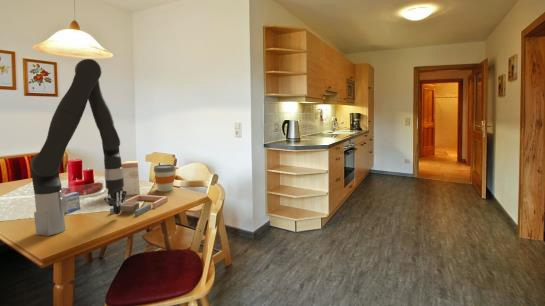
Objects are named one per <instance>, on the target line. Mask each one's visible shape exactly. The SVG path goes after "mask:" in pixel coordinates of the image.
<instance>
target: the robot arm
mask: <svg viewBox="0 0 545 306" xmlns="http://www.w3.org/2000/svg"><path fill="white" fill-rule="evenodd" d="M102 73H103V72H102V67H101V65H100V64H99V62H98V61H96V60H94V59H92V58H85V59H82V60H80V61H79V62H77V64H76V65H75V67H74V77H73V79H72V82H71V84H70V87H69V88H68V90H67V92H66V93H65V94H64V95H63V97H62V98H61V100H60V101H59V103H58V105H57V107H56V109H55V111H54V113H53V115H52V118H51V121H50V124H49V128H48V132H47V136H46V139H45V142H44V144H43V146H42V147H41V150H39V152H38V153H36V154H34V155H33V157H32V158H31V160H30V172H31V181H32V187H33V195H34V201H35V212H34V213H33V218H34V224H35V233H36V235H37V236H47V237H49V236H52V235H56V234H59V233H62V232H64V231H65V230H66V219H65V213H64V208H63V198H62V195H63V190H62V188H63V187H62V183H61V177H60V171H59V170H60V167H61V165H62V162H63V158H64V156H65V152H66V149H67V146H68V145H69V143H70V142H71V140H72V138H73V136H74V134H75V132H76V130H77V128H78V127H79V124H80V122H81V119H82V118H83V114H84V112H85V110H86V106H87V103H88V102H89V103H88V104H89V106H90V110H91V113H92V117H93V119H94V122H95V123H94V124H95V126H96V128H97V130H98V132H99V136H100V138H101V144H102V145H101V146H102V151H103V163H104V181H105V188H106V190H107V196H106V197H104V198H103V200H104V201H105V202H106V203H107V205H109V206H110V207H112V208H114V214H113V215H119V214H121V210H120V205H121V204H122V203H124V201H125V199H126V197H127V196H126V193H127V191H124V190H123V188H122V187H124V179H123V170H122V163H121V162H122V156H121V154H120V146H121V140H120V137H119V134H118V131H117V129H116V127H115V122H114V119H113V116H112V113H111V110H110V107H109V105H108V103H107V101H106V99H105V97H104V95H103V92H102V90H101V89H102V88H101V85H100V78H101V77H102Z"/></svg>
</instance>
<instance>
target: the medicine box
mask: <svg viewBox="0 0 545 306" xmlns="http://www.w3.org/2000/svg"><path fill="white" fill-rule="evenodd" d="M62 198H63V208H64V214H70V213H74V212H76V211H78V210H80V209H81V199H80V192H78V191H77V192H75V191H73V192H70V193H69V192H68V193H66V194H62Z"/></svg>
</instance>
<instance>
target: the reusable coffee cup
mask: <svg viewBox="0 0 545 306" xmlns="http://www.w3.org/2000/svg"><path fill="white" fill-rule="evenodd" d="M175 167H176V166H175V164H157V165H155V166H153V172H154V180H155V183H156V186H157V191H159V192H170V191H172V190H174V182H175V178H176V177H175V175H176V174H175V170H176V168H175Z"/></svg>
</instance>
